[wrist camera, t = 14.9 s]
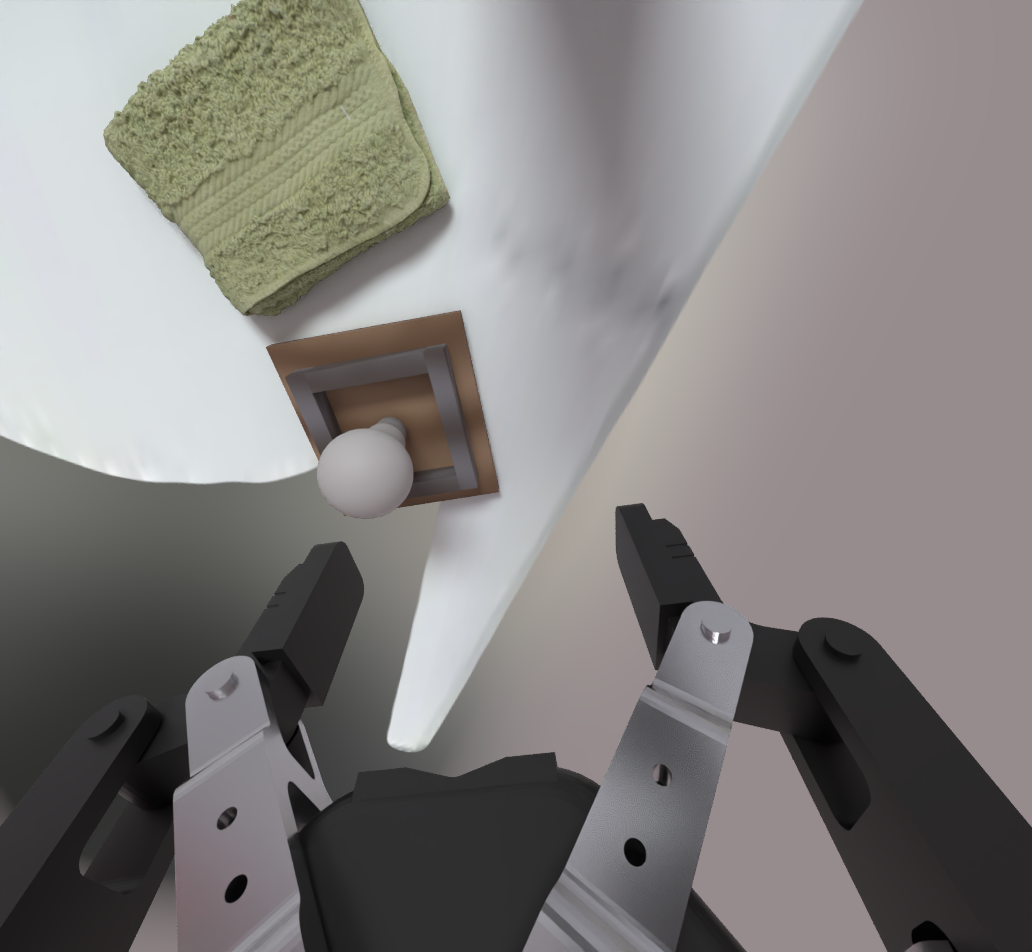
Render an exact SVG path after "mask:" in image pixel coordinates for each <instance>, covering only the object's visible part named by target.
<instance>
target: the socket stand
mask: <svg viewBox="0 0 1032 952" xmlns="http://www.w3.org/2000/svg"><path fill="white" fill-rule="evenodd" d="M266 349H267V351H268V353H269V355H270V357H271V359H272V361H273V364H274V366H275V368H276V370H277V372H278V374H279V377H280V379H281V381H282V383H283V385H284V387H285V389H286V392H287V394H288V396H289V398H290V400H291V402H292V405H293V407H294V409H295V411H296V413H297V415H298V417H299V420H300V422H301V424H302V426H303V428H304V430H305V432H306V435H307V437H308V439H309V441H310V443H311V445H312V448H313V450H314V452H315V454H316V456H317V458H318V460H319V459H320V457H321V455H322V452H323V451H324V449H325V448H326V447H327V445H328V444H329V443H330V442H331V441H332V440H333V439H335V438H336V437H337V436H339V435H341V434H344V433H346V432H348V431H351V430H355V429H365V428H366V429H369V428H370V427H372V426H373V425H376V424H377V423H378V422H379V421H380V420H381V419H383V418H385V417H394V418H396V419H398V420H400V421H401V422H402V423H403V424H404V425H405V427H406V431H407V434H406V439H405V449H406V451H407V452H408V454H409V456H410V458H411V461H412V465H413V483H412V486H411V489H410V492H409V494H408V496H407V497H406V499H405V500H404V501H403V502H402V503H401V504H400V505H399V507H406V506H412V505H419V504H425V503H431V502H437V501H444V500H451V499H457V498H463V497H470V496H476V495H483V494H489V493H495V492H499V486H498V481H497V476H496V472H495V467H494V463H493V458H492V453H491V449H490V444H489V440H488V435H487V430H486V426H485V421H484V416H483V412H482V407H481V403H480V398H479V393H478V389H477V384H476V379H475V375H474V370H473V366H472V361H471V356H470V352H469V347H468V343H467V338H466V333H465V329H464V324H463V319H462V315H461V310H460V311H454V312H449V313H443V314H438V315H432V316H427V317H421V318H416V319H410V320H404V321H399V322H393V323H388V324H382V325H377V326H371V327H366V328H360V329H354V330H349V331H343V332H338V333H332V334H327V335H321V336H316V337H310V338H305V339H299V340H293V341H288V342H282V343H277V344H272V345H270V346H267V347H266ZM399 507H397V508H399ZM344 516H348V515H345V514H344Z"/></svg>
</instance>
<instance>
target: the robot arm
mask: <svg viewBox="0 0 1032 952" xmlns="http://www.w3.org/2000/svg"><path fill="white" fill-rule="evenodd" d="M615 514H616V554H617V560H618V564H619V567H620V570H621V574H622V576H623V579H624V582H625V585H626V588H627V591H628V593H629V596H630V599H631V602H632V605H633V608H634V611H635V614H636V617H637V619H638V622H639V625H640V628H641V631H642V634H643V636H644V639H645V642H646V645H647V648H648V651H649V654H650V657H651V660H652V662H653V665H654V668H655V670H658V672H657V674H656V676H655V679H654V681H653V683H652V684H651V685H647V686H646V687H645V689H644V690H643V692H642V694H641V696H640V698H639V700H638V702H637V705H636V707H635V709H634V711H633V714H632V716H631V718H630V721H629V723H628V725H627V728H626V730H625V732H624V734H623V737H622V739H621V741H620V743H619V746H618V748H617V750H616V753H615V755H614V757H613V759H612V762H611V764H610V766H609V768H608V771H607V773H606V775H605V778H604V780H603V782H602V785H601V786H600V785H598V784H597V783H595V782H594V781H592V780H591V779H589V778H587V777H585V776H583V775H581V774H579V773H576V772H573V771H570V770H567V769H563V768H559V767H557V762H556V756H555V753H554V752H551V753H542V754H533V755H523V756H513V757H505V758H503V759H500V760H498V761H495V762H493V763H490V764H488V765H485V766H483V767H481V768H478V769H476V770H473V771H471V772H468V773H466V774H463V775H461V776H458V777H447V776H442V775H437V774H433V773H428V772H424V771H419V770H415V769H410V768H396V769H387V770H378V771H367V772H359V773H358V776H357V780H356V784H355V788H354V791H352V792H350V793H348V794H346V795H344V796H343V797H341V798H339V799H337V800H336V801H334V802H332V800H331V799H330V797H329V795H328V794H327V792H326V790H325V787H324V785H323V782H322V779H321V776H320V773H319V770H318V767H317V764H316V761H315V758H314V755H313V752H312V749H311V746H310V743H309V740H308V737H307V734H306V731H305V728H304V725H303V723H302V722H301V720H300V717H301V715H302V713H303V710H304V708H307V707H316V706H323V704H324V701H325V699H326V696H327V693H328V691H329V688H330V685H331V682H332V680H333V677H334V675H335V672H336V669H337V666H338V664H339V661H340V658H341V656H342V653H343V650H344V647H345V645H346V642H347V640H348V637H349V634H350V631H351V629H352V626H353V623H354V620H355V618H356V615H357V612H358V610H359V607H360V604H361V602H362V599H363V595H364V584H363V579H362V577H361V575H360V572H359V570H358V568H357V566H356V564H355V562H354V560H353V557H352V556H351V553H350V551H349V549H348V547H347V545H346V544H345V543H344V542H333V543H325V544H318V545H315V546H314V547H313V548H312V549H311V551H310V553H309V555H308V556H307V558H306V560H305V561H304V563H303V564H299V565H298V566H296V567H295V568H294V569H293V570H292V571H291V572H290V573H289V574H288V575H287V576H286V577H285V578H284V579H283V580H282V582H281V584H280V585H279V587H278V588H277V590H276V592H275V596H273V597H272V598H271V600H270V601H269V603H268V605H267V609H265V610H264V611H263V613H262V614H261V616H260V618H259V619H258V621H257V623H256V624H255V626H254V627H253V629H252V631H251V632H250V634H249V635H248V637H247V639H246V640H245V642H244V644H243V645H242V647H241V649H240V650H239V652H238V653H237V655H236V656H235V657H232V658H228V659H226V660H224V661H222V662H220V663H218V664H216V665H215V666H213V667H212V668H210V669H209V670H208V671H206V672H205V673H204V674H203V675H202V676H201V677H200V678H199V679H198V680H197V681H196V682H195V684H194V685H193V686H192V688H191V689H190V692H188V693H186V694H183V695H181V696H178V697H175V698H173V699H170V700H168V701H165V702H162V703H160V704H158V705H155V706H153V705H152V704H151V703H150V702H149V701H148V700H147V699H145V698H144V697H143V696H141V695H130V696H126V697H123V698H120V699H118V700H116V701H114V702H112V703H110V704H108V705H106V706H105V707H103V708H102V709H100V710H99V711H97V712H96V713H95V714H93V715H92V716H91V717H90V718H89V719H87V720H86V721H85V722H84V723H83V724H82V725H81V726H80V727H79V728H78V730H77V731H76V732H75V733H74V734H73V736H72V737H71V738H70V739H69V741H68V742H67V743H66V745H65V746H64V747H63V748H62V750H61V751H60V752H59V753H58V755H57V756H56V757H55V758H54V760H53V761H52V762H51V763H50V765H49V766H48V767H47V768H46V770H45V771H44V772H43V773H42V775H41V776H40V777H39V779H38V780H37V781H36V782H35V784H34V785H33V786H32V787H31V789H30V790H29V791H28V792H27V794H26V795H25V796H24V798H23V799H22V800H21V801H20V802H19V804H18V805H17V806H16V808H15V809H14V810H13V811H12V813H11V814H10V815H9V817H8V818H7V819H6V820H5V822H4V823H3V824H2V825H1V826H0V952H128V951H129V949H130V947H131V945H132V942H133V940H134V938H135V937H136V934H137V932H138V930H139V928H140V926H141V924H142V922H143V920H144V918H145V915H146V914H147V911H148V909H149V907H150V905H151V903H152V901H153V899H154V897H155V895H156V893H157V890H158V888H159V886H160V884H161V882H162V880H163V878H164V876H165V874H166V872H167V870H168V867H169V865H170V863H171V861H172V859H173V857H174V855H175V879H176V910H177V911H176V912H177V943H178V944H177V945H178V952H746V951H745V949H744V948H743V947H742V946H741V945H740V944H739V942H738V941H737V940H736V939H735V938H734V937H733V935H732V934H731V933H730V932H729V931H728V929H727V928H726V927H725V926H724V925H723V924H722V922H721V921H720V920H719V919H718V918H717V917H716V915H715V914H714V913H713V912H712V911H711V909H710V908H708V906H707V905H706V904H705V902H704V901H703V900H702V899H701V898H700V897H699V895H698V894H697V893H696V892H695V891H694V890H693V888H692V883H693V879H694V875H695V871H696V867H697V863H698V859H699V855H700V851H701V847H702V843H703V839H704V836H705V831H706V828H707V823H708V820H709V815H710V812H711V808H712V804H713V800H714V796H715V792H716V787H717V783H718V780H719V776H720V772H721V767H722V763H723V760H724V756H725V752H726V748H727V744H728V739H729V736H730V732H731V727H732V722H733V721H735V722H740V723H745V724H748V725H753V726H758V727H761V728H766V729H770V730H775V731H779V732H780V734H781V736H782V738H783V739H784V742H785V744H786V745H787V748H788V749H789V752H790V754H791V756H792V758H793V760H794V762H795V764H796V766H797V768H798V770H799V772H800V774H801V776H802V778H803V780H804V782H805V784H806V787H807V788H808V791H809V792H810V795H811V797H812V799H813V801H814V803H815V805H816V807H817V809H818V811H819V813H820V815H821V817H822V819H823V821H824V823H825V825H826V827H827V829H828V831H829V833H830V835H831V837H832V839H833V841H834V844H835V845H836V847H837V850H838V852H839V853H840V856H841V858H842V860H843V862H844V864H845V866H846V868H847V870H848V872H849V874H850V876H851V878H852V880H853V882H854V884H855V886H856V888H857V890H858V892H859V894H860V896H861V898H862V900H863V902H864V904H865V906H866V909H867V911H868V913H869V915H870V917H871V919H872V921H873V923H874V925H875V927H876V929H877V931H878V933H879V935H880V937H881V939H882V941H883V943H884V945H885V947H886V949H887V951H888V952H1032V827H1031V826H1030V825H1029V824H1028V822H1027V821H1026V820H1025V819H1024V818H1023V816H1022V815H1021V814H1020V813H1019V811H1018V810H1017V809H1016V808H1015V807H1014V805H1013V804H1012V803H1011V802H1010V801H1009V799H1008V798H1007V797H1006V796H1005V795H1004V793H1003V792H1002V791H1001V790H1000V789H999V787H998V786H997V785H996V784H995V783H994V781H993V780H992V779H991V778H990V777H989V775H988V774H987V773H986V772H985V771H984V769H983V768H982V767H981V766H980V765H979V763H978V762H977V761H976V760H975V759H974V757H973V756H972V755H971V754H970V752H969V751H968V750H967V749H966V748H965V746H964V745H963V744H962V743H961V742H960V740H959V739H958V738H957V737H956V736H955V734H954V733H953V732H952V731H951V730H950V728H949V727H948V726H947V725H946V724H945V722H944V721H943V720H942V719H941V718H940V716H939V715H938V714H937V713H936V712H935V710H934V709H933V708H932V707H931V706H930V704H929V703H928V702H927V701H926V700H925V698H924V697H923V696H922V695H921V693H920V692H919V691H918V690H917V689H916V687H915V686H914V685H913V684H912V683H911V681H910V680H909V679H908V678H907V677H906V675H905V674H904V673H903V672H902V671H901V669H900V668H899V667H898V666H897V665H896V664H895V662H894V661H893V660H892V659H891V657H890V656H889V655H888V654H887V653H886V651H885V650H884V649H883V648H882V646H881V645H880V644H879V643H878V642H877V641H876V640H875V639H874V638H873V637H872V636H870V635H869V634H868V633H866V632H865V631H863V630H862V629H860V628H858V627H856V626H854V625H852V624H850V623H848V622H845V621H841V620H838V619H834V618H814V619H811V620H809V621H806V622H805V623H804V624H803V625H802V626H801V628H800V630H799V632H796V631H790V630H782V629H777V628H770V627H764V626H760V625H756V624H753V623H750V622H748V621H747V620H746V618H745V617H744V616H743V615H742V614H741V613H739V612H738V611H737V610H735V609H733V608H732V607H730V606H727V605H725V604H723V602H722V601H721V599H720V597H719V596H718V594H717V592H716V591H715V589H714V587H713V586H712V584H711V582H710V581H709V579H708V577H707V576H706V574H705V572H704V571H703V569H702V567H701V565H700V564H699V562H698V561H697V559H696V557H694V553H693V552H692V550H691V548H690V547H689V546H688V545H687V542H686V540H685V538H684V537H683V535H682V533H681V531H680V530H679V529H678V528H677V527H675V526H674V525H672V523H670V522H669V521H667V520H666V519H656V520H652V519H651V517H650V515H649V513H648V511H647V509H646V507H645V505H644V504H643V503H640V504H633V505H624V506H617V507H616V513H615ZM117 794H120V795H121V796H123V797H124V798H125V799H127V800H129V802H128V804H127V805H126V807H125V808H124V810H123V812H122V813H121V815H120V817H119V818H118V820H117V822H116V823H115V825H114V827H113V828H112V830H111V832H110V834H109V835H108V836H107V838H106V840H105V842H104V843H103V845H102V847H101V848H100V850H99V852H98V853H97V855H96V856H95V858H94V860H93V861H92V863H91V865H90V866H89V868H88V870H87V871H86V873H85V875H84V876H82V875H81V873H80V870H79V859H80V856H81V853H82V850H83V848H84V846H85V844H86V843H87V841H88V839H89V838H90V836H91V835H92V833H93V832H94V830H95V828H96V827H97V825H98V824H99V822H100V820H101V819H102V817H103V815H104V814H105V813H106V811H107V809H108V808H109V806H110V804H111V803H112V801H113V800H114V798H115V797H116V795H117Z"/></svg>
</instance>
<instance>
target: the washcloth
mask: <svg viewBox="0 0 1032 952" xmlns="http://www.w3.org/2000/svg"><path fill="white" fill-rule="evenodd" d="M195 40H196V41H194V43H193V45H189V44H186V45H185V48H182V49H181V50H180V51H179V55H175V58H174V60H171V59H170V65H168V66H166V68H165V69H163V70H156V71H155V72H153V73H152V74H150V75H149V76H148V79H147V83H145V82H143V81H141V83H140V84H139V85H138V92H136V93H135V94H134V95H132V96H131V98H129V101H128V104H126V105H125V107H124V109H123V111H122V112H119V111H115V113H114V115H115V116H114V118H113V120H111V121H110V123H109V125H108V126H107V127H106V128H105V130H104V134H103V135H104V139H105V146H106V147H107V148H108V151H109V152H110V153H111V154H112V155H113V157H114V158H115V159H116V160H117V161H118V162H119V163H120V165H121V166H122V167H123V168H124V169H125V170H126V171H127V172H128V173H129V175H130V176H131V177H132V178H133V179H134V180H135V181H136V182H137V184H139V185H140V186H141V187H142V188H143V189H145V190H146V193H147V194H148V197H149V198H150V199H152V200H153V201H154V202H155V203H156V204H157V206H158V207H159V209H160V210H161V213H162V214H163V215H164V216H165V217H166V218H167V219H168V220H170V221H171V222H174V223H176V224H177V225H178V226H179V227H180V228H181V230H182V231H183V233H184V234H185V235H186V236H187V237H188V238H189V239H190V241H191V242H192V243H193V245H194V246H195V247H196V248H197V249H198V250H199V252H200V253H201V255H202V256H203V257H204V263H205V266H206V268H207V269H209V270H210V276H211V277H213V278H214V279H215V282H216V284H217V285H218V286H219V288H220V290H221V292H222V293H223V295H224V296H225V297H226V298H227V299H229V301H230V302H231V304H232V305H233V306H234V307H235V308H236V309H238V310H239V311H240V312H241V313H242V314H243V315H246V316H249V315H253V314H256V315H261V314H262V315H271V316H275V315H278V314H280V313H281V310H283V309H285V308H286V307H287V306H288V307H289V306H290V305H293V306H294V305H295V302H296V301H297V300H299V299H300V296H301V295H305V294H306V293H307V292H308V291H309V290H310V289H311V288H312V287H313V286H314V284H315V283H318V282H319V281H321V280H323V279H324V278H326V277H328V276H329V275H331V274H332V273H333V270H336V271H337V270H338V269H339V268H340V266H341V265H342V264H343V263H345V262H347V261H348V260H349V261H350V259H351V258H352V257H356V256H357V255H358V254H359V252H363V253H365V252H366V250H369V246H371V247H374V242H375V243H378V242H379V241H381V240H383V239H384V240H386V238H389V237H390V236H391V235H392V234H394V233H396V232H398V233H399V232H401V231H403V230H404V229H405V228H406V227H407V226H410V225H413V224H414V223H416V222H417V220H418V218H421V217H426V216H428V215H430V214H431V213H433V212H435V210H436V209H441V208H442V207H443V206H444V205H445V204H446V203H447V202H448V200H449V199H450V196H449V194H448V191H447V189H446V187H445V184H444V182H443V180H442V177H441V175H440V173H439V169H438V168H437V166H436V164H435V161H434V159H433V156H432V154H431V152H430V148H429V146H428V142H427V140H426V136H425V134H424V131H423V129H422V125H421V123H420V121H419V119H418V116H417V113H416V110H415V108H414V106H413V103H412V100H411V98H410V95H409V92H408V90H407V88H406V87H405V85H404V84H403V82H402V80H401V78H400V76H399V74H398V73H397V71H396V70H395V68H394V66H393V65H392V63H391V62H390V61H389V60H388V59H387V57H386V56H385V55H384V53H383V52H382V51H381V49H380V47H379V44H378V42H377V40H376V38H375V36H374V34H373V31H372V29H371V27H370V25H369V22H368V20H367V18H366V15H365V13H364V10H363V8H362V6H361V4H360V2H359V0H242V1H239V3H237V6H234V5H233V4H231V13H230V15H228V16H225V17H224V16H223V17H222V18H221V19H218V20H217V24H215V25H214V24H213V23H212V25H211V26H209V27H208V28H207V30H206V31H204V35H203V36H202V37H199V36H196V38H195Z"/></svg>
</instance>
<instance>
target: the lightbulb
mask: <svg viewBox="0 0 1032 952" xmlns="http://www.w3.org/2000/svg"><path fill="white" fill-rule="evenodd" d="M406 434H407V431H406V427H405V425H404V424H403V423H402V422H401V421H400V420H398V419H396V418H394V417H385V418H383V419H381V420H380V421H379V422H378V423H377V424H376V425H373V426H372V427H370V428H369V429H366V428H365V429H355V430H351V431H348V432H346V433H344V434H341V435H339V436H337V437H336V438H335V439H333V440H332V441H331V442H330V443H329V444H328V445H327V447H326V448H325V449H324V451H323V452H322V455H321V457H320V459H319V462H318V468H317V479H318V484H319V487H320V490H321V492H322V494H323V496H324V497H325V499H326V500H327V501H328V503H329V504H330V505H331V506H332V507H334V508H335V509H336V510H338V511H339V512H341V513H343V514H345V515H348V516H351V517H354V518H361V519H369V518H376V517H381V516H384V515H386V514H388V513H390V512H391V511H393V510H394V509H396V508H397V507H399V505H400V504H401V503H402V502H403V501H404V500H405V499H406V497H407V496H408V494H409V492H410V489H411V486H412V483H413V465H412V461H411V458H410V456H409V454H408V452H407V451H406V449H405V439H406Z"/></svg>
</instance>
